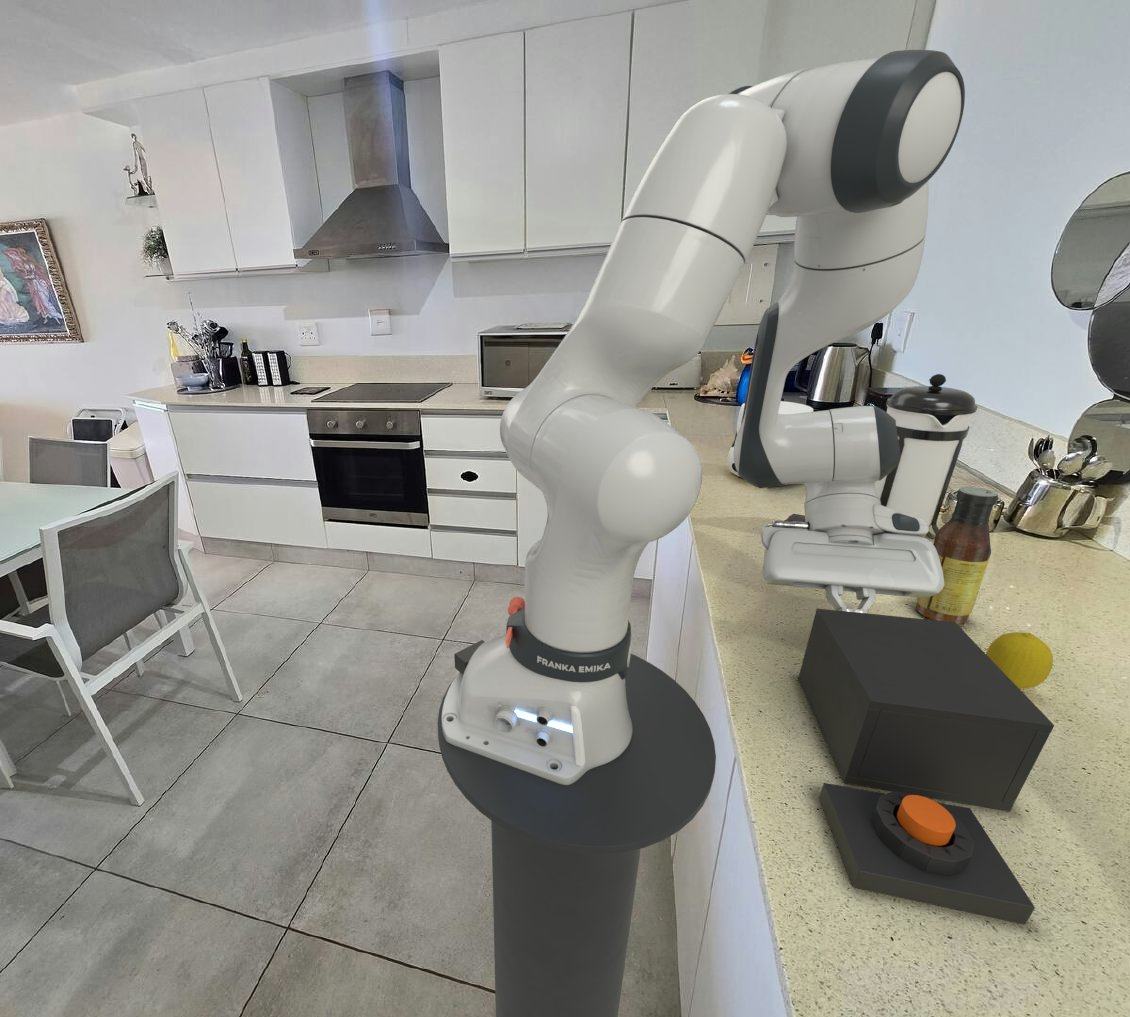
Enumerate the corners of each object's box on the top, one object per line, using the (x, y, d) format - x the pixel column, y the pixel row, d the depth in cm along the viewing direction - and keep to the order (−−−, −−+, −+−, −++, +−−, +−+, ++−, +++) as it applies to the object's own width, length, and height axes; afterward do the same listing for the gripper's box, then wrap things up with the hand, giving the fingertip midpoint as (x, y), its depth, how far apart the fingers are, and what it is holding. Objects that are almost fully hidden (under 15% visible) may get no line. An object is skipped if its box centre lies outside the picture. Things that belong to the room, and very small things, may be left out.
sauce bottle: (978, 623, 79) (1029, 497, 71) (945, 630, 78) (993, 503, 70) (932, 599, 85) (974, 481, 77) (900, 606, 84) (940, 486, 76)
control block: (853, 887, 47) (864, 856, 45) (818, 798, 55) (827, 769, 53) (1025, 925, 43) (1044, 893, 42) (962, 823, 51) (976, 794, 50)
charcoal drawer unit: (797, 679, 70) (816, 608, 66) (926, 696, 66) (955, 622, 62) (843, 783, 56) (871, 700, 52) (1010, 811, 52) (1055, 725, 48)
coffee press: (964, 531, 105) (1020, 375, 94) (908, 547, 100) (960, 384, 89) (873, 501, 120) (912, 363, 109) (820, 513, 116) (855, 371, 104)
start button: (907, 840, 46) (913, 827, 46) (889, 804, 50) (894, 790, 49) (958, 850, 46) (965, 836, 45) (936, 812, 49) (942, 799, 48)
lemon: (970, 667, 71) (991, 616, 68) (1027, 679, 68) (1052, 626, 65) (984, 694, 66) (1007, 641, 63) (1046, 708, 64) (1073, 653, 61)
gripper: (767, 511, 76) (772, 610, 71) (942, 522, 70) (960, 628, 66) (754, 526, 81) (758, 618, 77) (915, 537, 76) (930, 636, 71)
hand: (852, 623), depth 71 cm, fingers closed, pressing on fryer drawer
